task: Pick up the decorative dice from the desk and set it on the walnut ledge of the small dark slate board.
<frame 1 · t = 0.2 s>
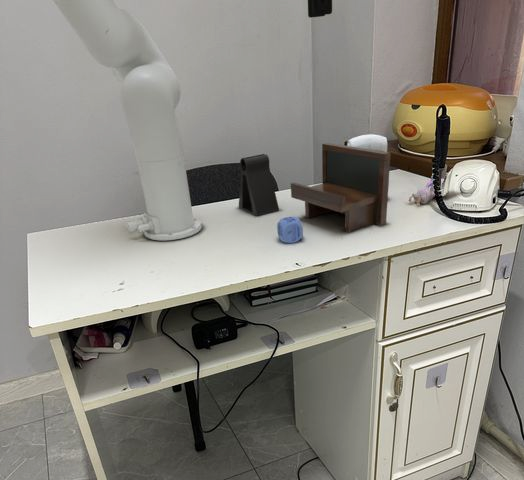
hand: (319, 15, 86), 37 cm above the table, tool pointing down, fingers open, 9 cm apart
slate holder: (333, 221, 104), on the table
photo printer: (365, 187, 126), on the table
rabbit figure: (436, 199, 113), on the table
decorative dice: (290, 240, 97), on the table
cork: (373, 200, 115), on the table
phone stand: (258, 210, 116), on the table
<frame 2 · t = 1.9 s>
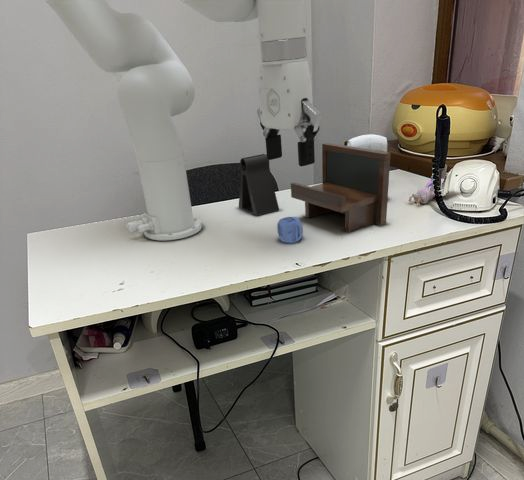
hand: (290, 161, 89), 15 cm above the table, tool pointing down, fingers open, 9 cm apart
nothing on the table moved.
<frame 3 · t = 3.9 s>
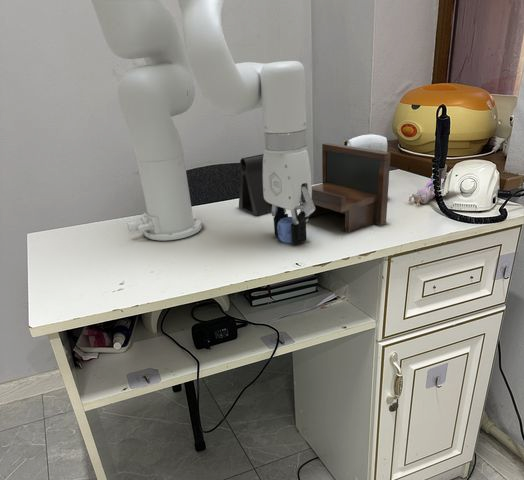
hand: (290, 237, 97), 0 cm above the table, tool pointing down, fingers closed on decorative dice, 5 cm apart
decorative dice: (290, 240, 97), on the table, touching gripper
everything else where it was.
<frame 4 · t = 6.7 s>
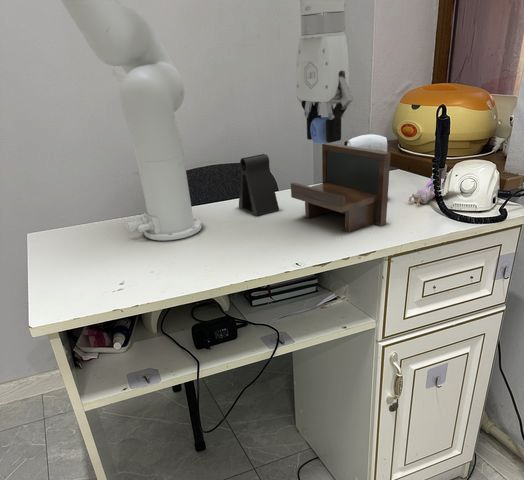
hand: (323, 138, 94), 17 cm above the table, tool pointing down, fingers closed on decorative dice, 5 cm apart
decorative dice: (323, 142, 94), point 16 cm above the table, touching gripper
everything else where it was.
when the fingers open (6 cm above the table, at t = 9.3 s): decorative dice stays where it is, resting on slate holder.
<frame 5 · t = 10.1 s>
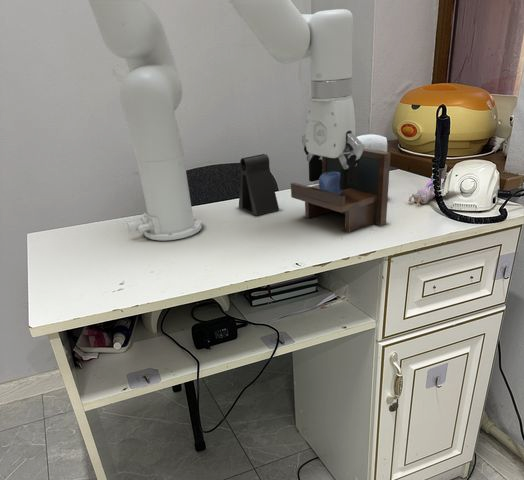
hand: (330, 184, 100), 8 cm above the table, tool pointing down, fingers open, 9 cm apart
decorative dice: (331, 194, 101), point 6 cm above the table, touching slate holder
everything else where it was.
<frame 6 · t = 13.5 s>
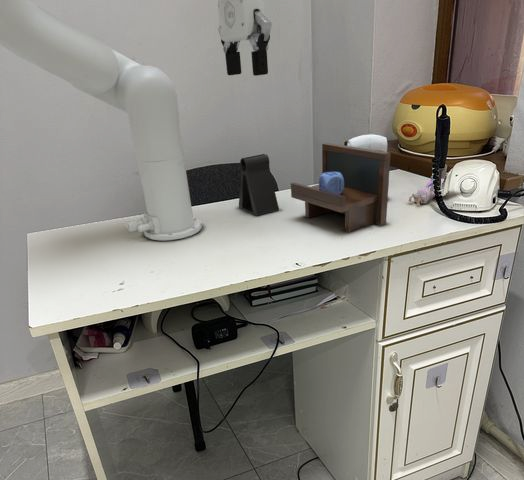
hand: (247, 74, 98), 28 cm above the table, tool pointing down, fingers open, 9 cm apart
nothing on the table moved.
at the end: decorative dice inside the target area on the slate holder (0.8 cm from its centre), point 5.8 cm above the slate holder's base; the gripper is holding nothing; decorative dice tilted 0° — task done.
